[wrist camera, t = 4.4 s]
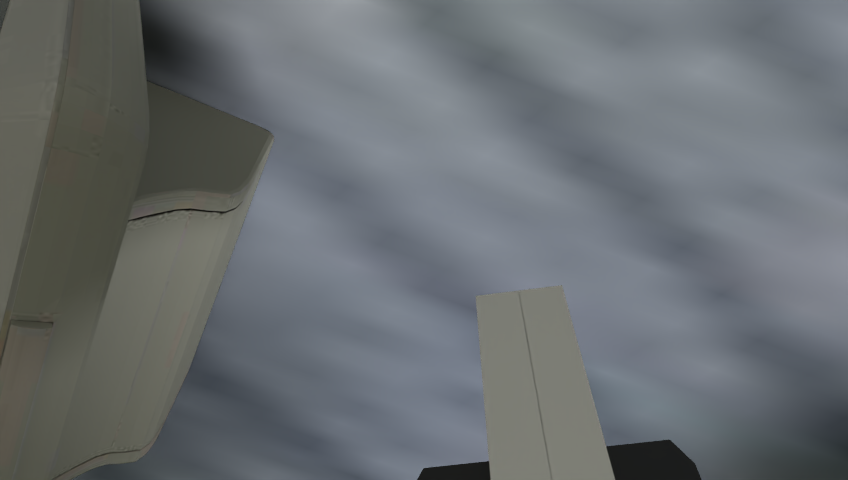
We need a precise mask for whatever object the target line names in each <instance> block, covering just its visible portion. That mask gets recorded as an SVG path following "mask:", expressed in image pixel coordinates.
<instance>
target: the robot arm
mask: <svg viewBox="0 0 848 480" xmlns="http://www.w3.org/2000/svg"><path fill="white" fill-rule="evenodd" d="M476 306H477V318H478V330H479V342H480V355H481V367H482V379H483V392H484V404H485V416H486V429H487V441H488V453H489V461H487V462H478V463H468V464H459V465H450V466H440V467H431V468H423V470H422V472H421V474H420V476H419V477H418V479H417V480H701V477H700V475H699V472H698V470H697V468H696V465H695V463H694V462H693V461H692V460H691V459H689V458H688V457H687V456H686V455H685V454H684V453H683V452H682V451H681V450H680V449H679V448H678V447H677V446H676V445H675V444H674V443H673V442H671V441H670V440H663V441H653V442H644V443H635V444H625V445H616V446H607V447H606V444H605V441H604V437H603V434H602V430H601V426H600V423H599V419H598V415H597V412H596V408H595V404H594V401H593V397H592V393H591V390H590V386H589V382H588V379H587V375H586V371H585V368H584V364H583V360H582V357H581V353H580V350H579V346H578V342H577V339H576V335H575V331H574V328H573V324H572V320H571V317H570V313H569V309H568V306H567V302H566V298H565V295H564V291H563V287H562V285H561V286H553V287H545V288H537V289H528V290H520V291H512V292H504V293H496V294H488V295H480V296H476Z"/></svg>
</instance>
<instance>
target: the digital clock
mask: <svg viewBox="0 0 848 480" xmlns="http://www.w3.org/2000/svg"><path fill="white" fill-rule="evenodd" d="M273 142H274V136H273V135H272V133H270V132H268V131H267V130H265V129H263V128H261V127H259V126H256V125H254V124H252V123H249V122H247V121H244V120H242V119H239V118H237V117H234V116H232V115H229V114H227V113H225V112H222V111H220V110H217V109H215V108H212V107H210V106H207V105H205V104H202V103H200V102H198V101H195V100H193V99H190V98H188V97H185V96H183V95H180V94H178V93H175V92H173V91H170V90H168V89H166V88H163V87H161V86H158V85H156V84H153V83H151V82H148V81H147V80H146V68H145V57H144V46H143V35H142V24H141V13H140V2H139V0H10V1H9V5H8V8H7V11H6V14H5V18H4V21H3V24H2V28H1V31H0V480H71V479H72V478H74V477H76V476H78V475H80V474H82V473H84V472H87V471H89V470H91V469H93V468H96V467H100V466H103V465H108V464H123V463H130V462H136V461H137V460H138V459H140V458H141V457H142V456H144V455H145V454H146V453H147V452H148V451H149V449H150V448H151V447H152V445H153V444H154V442H155V441H156V439H157V437H158V435H159V433H160V431H161V429H162V427H163V425H164V423H165V420H166V418H167V416H168V414H169V412H170V410H171V408H172V405H173V403H174V401H175V399H176V397H177V395H178V393H179V390H180V388H181V386H182V384H183V382H184V380H185V378H186V375H187V373H188V371H189V368H190V366H191V363H192V360H193V358H194V355H195V352H196V349H197V347H198V344H199V341H200V339H201V336H202V333H203V331H204V328H205V325H206V322H207V320H208V317H209V314H210V312H211V309H212V306H213V304H214V301H215V298H216V295H217V293H218V290H219V287H220V285H221V282H222V279H223V277H224V274H225V271H226V269H227V266H228V263H229V260H230V258H231V255H232V252H233V250H234V247H235V244H236V242H237V239H238V236H239V233H240V231H241V228H242V225H243V223H244V220H245V217H246V215H247V212H248V209H249V206H250V204H251V201H252V198H253V196H254V193H255V190H256V188H257V185H258V182H259V179H260V177H261V174H262V171H263V169H264V166H265V163H266V161H267V158H268V155H269V152H270V150H271V147H272V144H273Z"/></svg>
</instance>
